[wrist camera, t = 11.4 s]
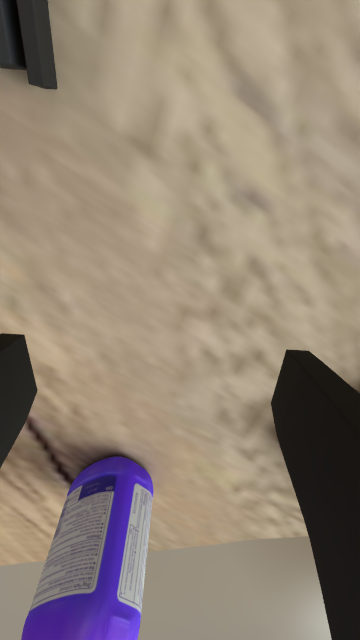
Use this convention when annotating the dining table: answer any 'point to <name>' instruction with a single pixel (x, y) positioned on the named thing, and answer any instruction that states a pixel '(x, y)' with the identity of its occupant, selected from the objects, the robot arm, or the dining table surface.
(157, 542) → the dining table surface
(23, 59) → the connector pad
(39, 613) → the bottle
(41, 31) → the base pad
